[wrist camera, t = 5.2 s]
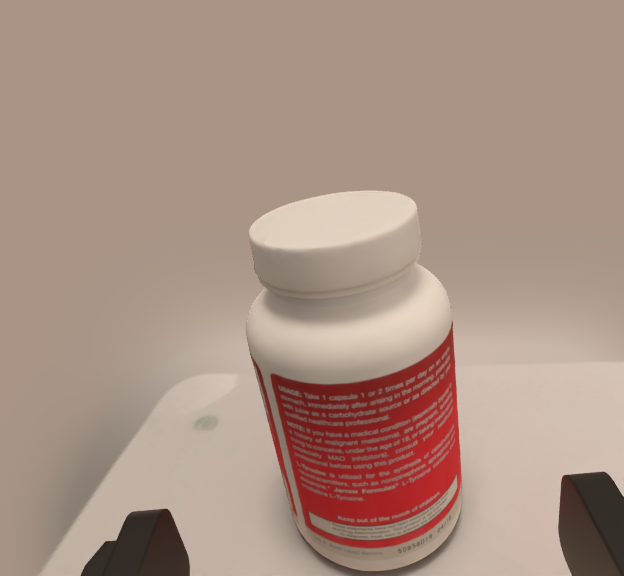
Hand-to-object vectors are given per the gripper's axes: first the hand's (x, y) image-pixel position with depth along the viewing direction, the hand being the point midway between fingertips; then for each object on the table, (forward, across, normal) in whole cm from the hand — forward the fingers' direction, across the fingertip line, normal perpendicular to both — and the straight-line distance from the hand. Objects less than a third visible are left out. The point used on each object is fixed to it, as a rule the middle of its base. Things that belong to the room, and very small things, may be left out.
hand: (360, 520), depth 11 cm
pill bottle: (+6, 0, +7) cm, 9 cm away
